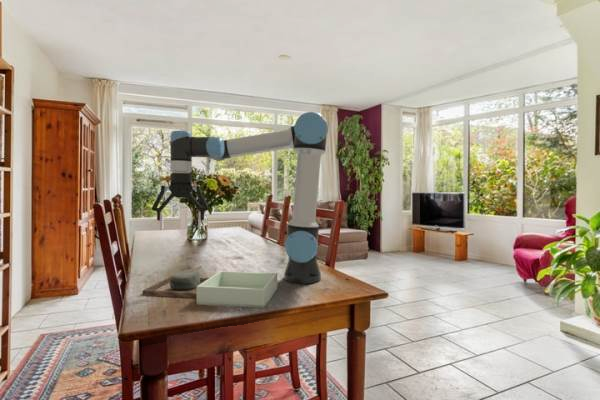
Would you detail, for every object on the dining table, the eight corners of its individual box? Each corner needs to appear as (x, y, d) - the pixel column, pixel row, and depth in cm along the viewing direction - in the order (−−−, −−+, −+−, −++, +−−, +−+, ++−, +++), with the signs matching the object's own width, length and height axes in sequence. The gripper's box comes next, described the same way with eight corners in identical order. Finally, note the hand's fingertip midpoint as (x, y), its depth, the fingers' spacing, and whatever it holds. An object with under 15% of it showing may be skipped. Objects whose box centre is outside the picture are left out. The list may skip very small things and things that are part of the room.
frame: (224, 282, 136) (224, 278, 136) (203, 298, 116) (203, 293, 116) (171, 279, 139) (171, 276, 139) (142, 294, 119) (142, 290, 119)
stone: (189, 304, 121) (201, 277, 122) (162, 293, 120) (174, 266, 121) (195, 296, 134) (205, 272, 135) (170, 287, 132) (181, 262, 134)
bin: (277, 288, 128) (277, 273, 127) (264, 308, 107) (264, 289, 107) (220, 286, 131) (220, 270, 130) (196, 304, 110) (196, 286, 110)
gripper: (215, 173, 135) (215, 227, 136) (147, 172, 130) (147, 228, 131) (214, 173, 128) (214, 230, 129) (142, 171, 123) (143, 230, 124)
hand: (180, 229), depth 130 cm, fingers open, 13 cm apart
